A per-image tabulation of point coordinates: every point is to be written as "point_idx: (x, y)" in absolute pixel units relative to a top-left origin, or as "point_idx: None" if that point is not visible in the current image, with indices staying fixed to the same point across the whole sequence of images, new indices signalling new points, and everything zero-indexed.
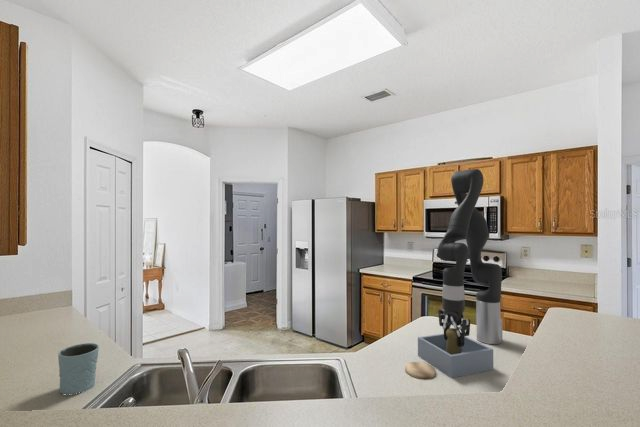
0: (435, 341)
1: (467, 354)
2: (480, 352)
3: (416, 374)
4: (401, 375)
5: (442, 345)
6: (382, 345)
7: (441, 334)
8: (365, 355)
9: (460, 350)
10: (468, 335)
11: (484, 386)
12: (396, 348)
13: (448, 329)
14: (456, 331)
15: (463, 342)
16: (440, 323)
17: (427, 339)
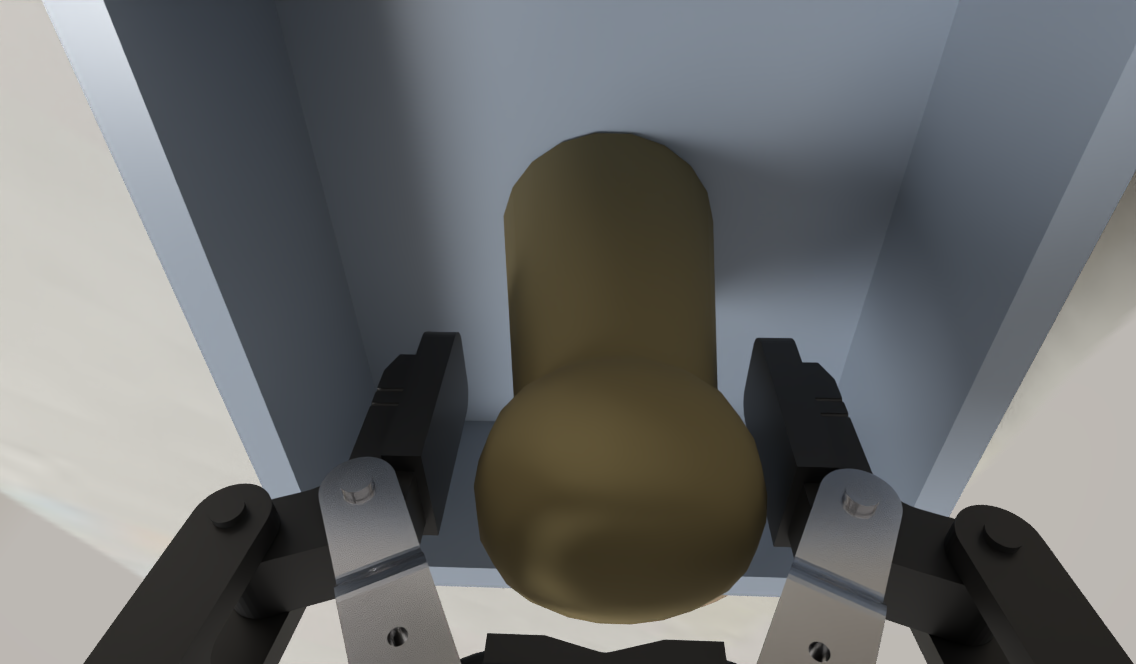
0: (301, 351)
1: (984, 437)
2: (1091, 226)
3: (707, 603)
4: (639, 623)
5: (295, 205)
6: (129, 530)
7: (203, 299)
8: (319, 652)
9: (711, 285)
10: (1011, 525)
11: (1127, 298)
12: (193, 479)
13: (562, 612)
14: (721, 578)
15: (836, 414)
16: (271, 622)
17: (317, 477)
